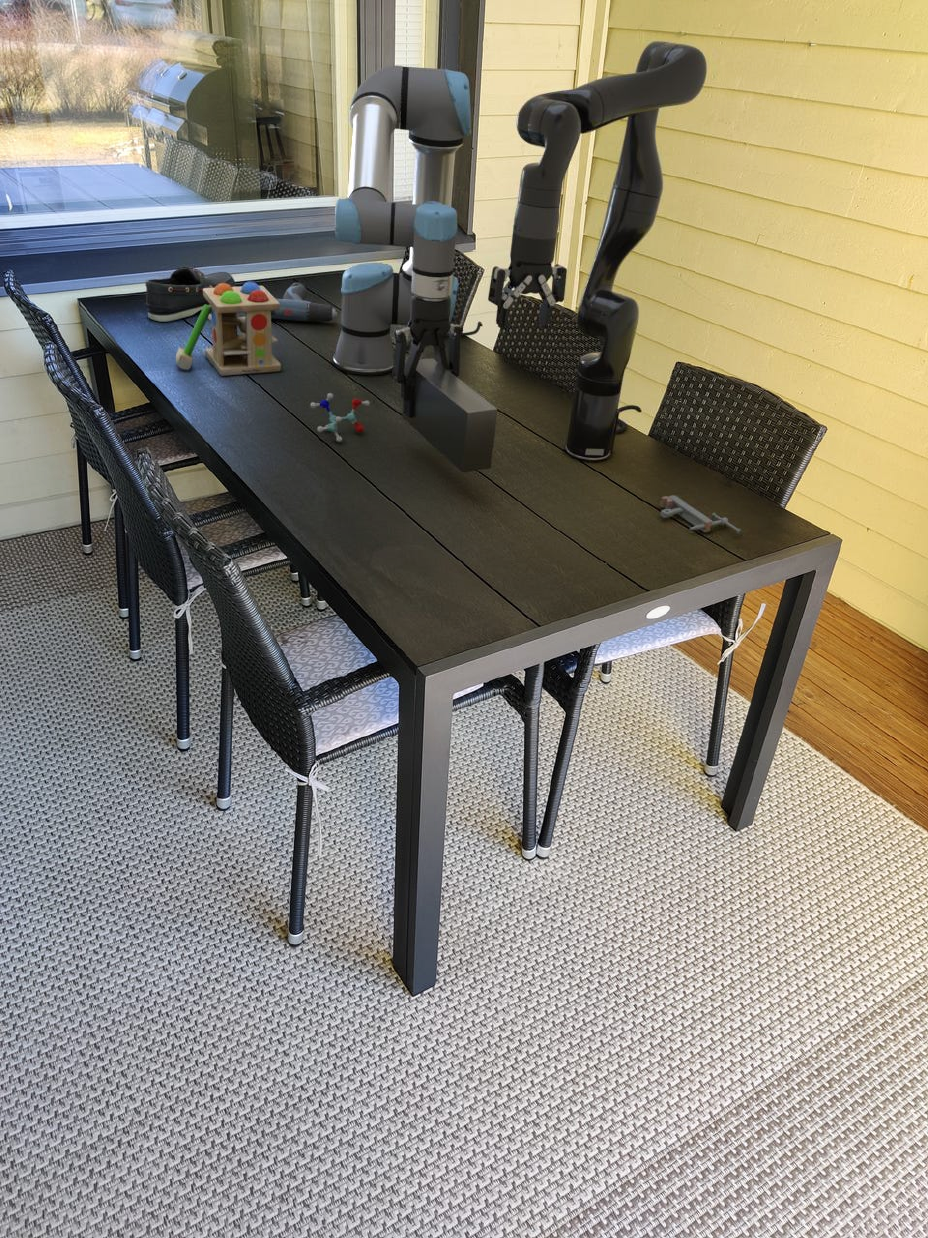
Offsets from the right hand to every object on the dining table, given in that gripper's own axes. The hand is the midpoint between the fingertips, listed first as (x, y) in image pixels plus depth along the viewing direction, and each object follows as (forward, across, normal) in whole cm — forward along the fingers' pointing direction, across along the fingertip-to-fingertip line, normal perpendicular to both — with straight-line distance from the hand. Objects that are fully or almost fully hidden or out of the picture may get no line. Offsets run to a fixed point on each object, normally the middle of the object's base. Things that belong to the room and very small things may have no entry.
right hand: (522, 326), depth 175 cm
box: (+24, -10, +7) cm, 27 cm away
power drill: (+30, -1, +107) cm, 111 cm away
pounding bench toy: (+31, -33, +75) cm, 87 cm away
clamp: (+30, +26, -26) cm, 48 cm away
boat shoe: (+30, -28, +119) cm, 126 cm away
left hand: (+22, -10, +17) cm, 29 cm away
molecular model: (+31, -22, +31) cm, 49 cm away
